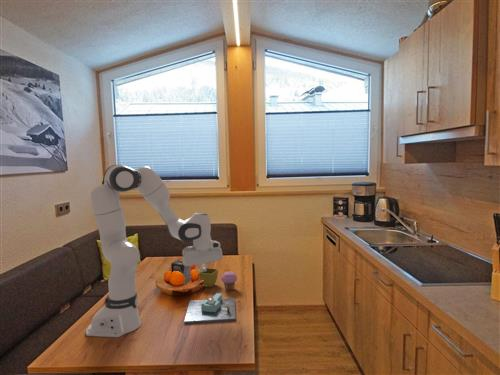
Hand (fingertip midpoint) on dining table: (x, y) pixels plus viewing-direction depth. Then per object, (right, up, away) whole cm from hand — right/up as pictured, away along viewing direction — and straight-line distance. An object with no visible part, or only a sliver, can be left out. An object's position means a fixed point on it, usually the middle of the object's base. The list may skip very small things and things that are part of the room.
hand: (203, 271), depth 164 cm
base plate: (+5, -18, -6) cm, 19 cm away
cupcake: (+12, -15, +20) cm, 28 cm away
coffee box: (-15, -16, +20) cm, 30 cm away
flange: (+6, -16, -3) cm, 17 cm away
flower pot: (-1, -15, +26) cm, 30 cm away
